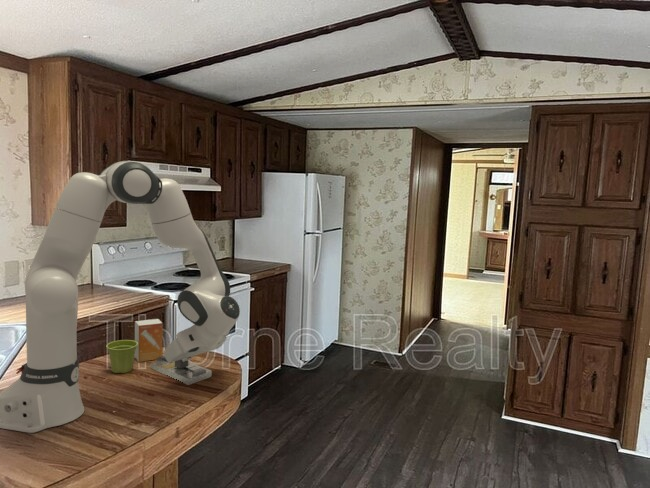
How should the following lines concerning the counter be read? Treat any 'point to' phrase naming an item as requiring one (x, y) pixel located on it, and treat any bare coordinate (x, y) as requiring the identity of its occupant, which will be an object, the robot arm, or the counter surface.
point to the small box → (148, 339)
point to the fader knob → (181, 363)
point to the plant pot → (122, 355)
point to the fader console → (181, 371)
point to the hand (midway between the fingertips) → (185, 358)
